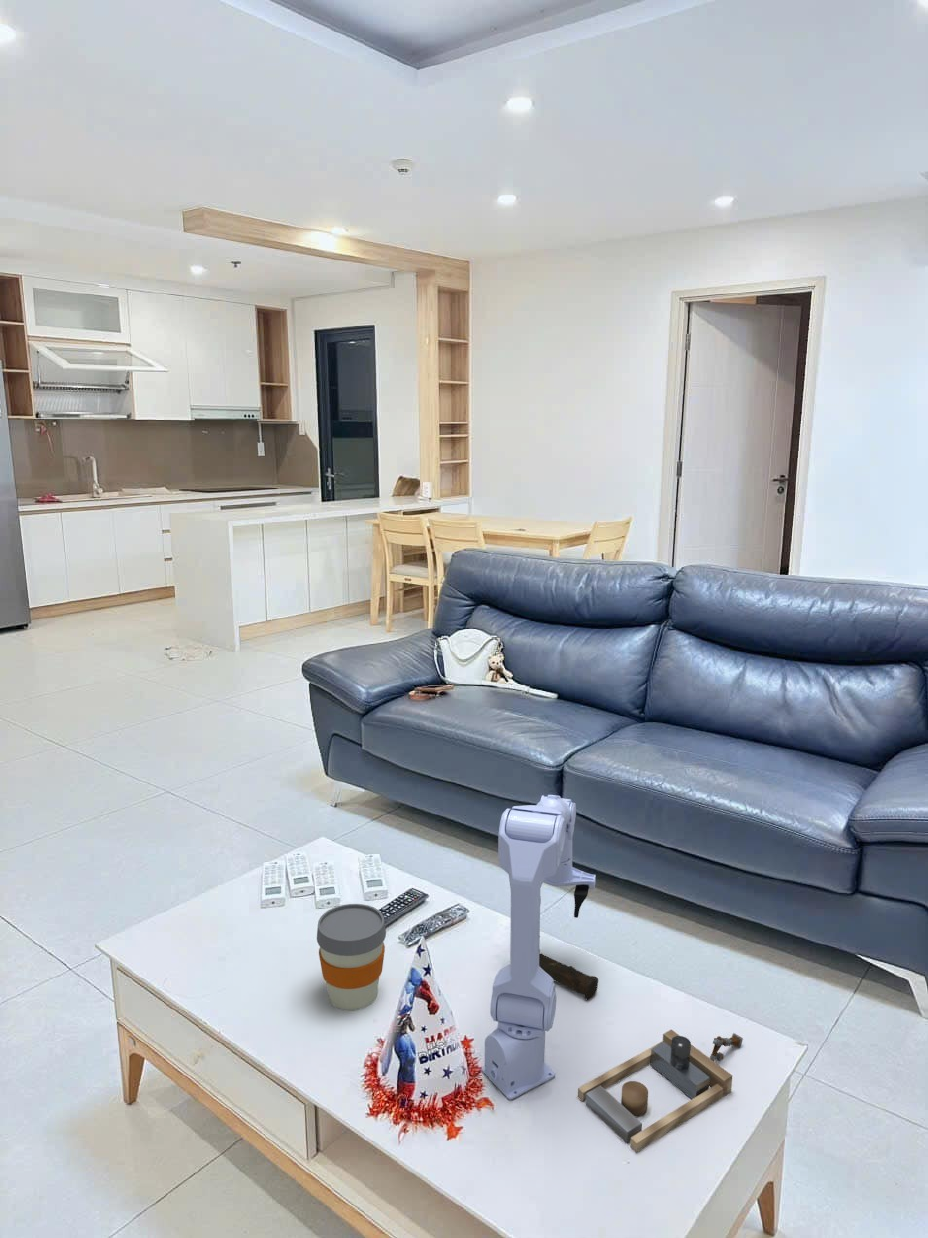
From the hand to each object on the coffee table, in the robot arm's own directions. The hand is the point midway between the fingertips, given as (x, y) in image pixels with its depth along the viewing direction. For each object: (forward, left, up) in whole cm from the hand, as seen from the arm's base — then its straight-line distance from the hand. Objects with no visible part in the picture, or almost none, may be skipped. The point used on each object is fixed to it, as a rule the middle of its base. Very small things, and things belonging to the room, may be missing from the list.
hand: (557, 910), depth 168 cm
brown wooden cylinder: (-14, -36, -11) cm, 40 cm away
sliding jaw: (-4, -36, -11) cm, 38 cm away
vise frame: (-10, -36, -11) cm, 39 cm away
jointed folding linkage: (+7, -36, -11) cm, 39 cm away
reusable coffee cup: (-38, +13, -11) cm, 42 cm away
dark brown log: (-5, -4, -11) cm, 13 cm away
